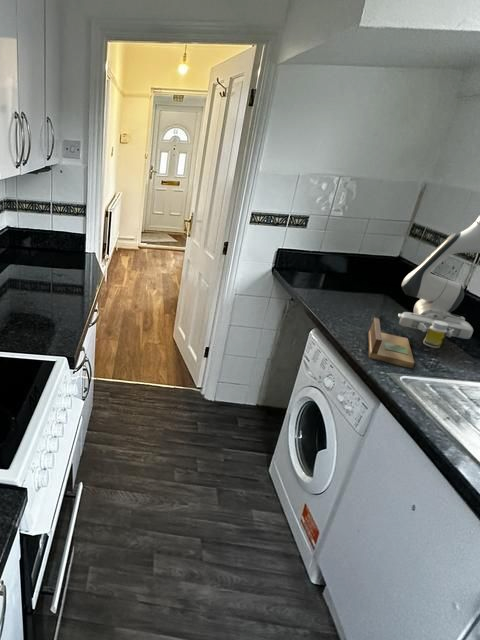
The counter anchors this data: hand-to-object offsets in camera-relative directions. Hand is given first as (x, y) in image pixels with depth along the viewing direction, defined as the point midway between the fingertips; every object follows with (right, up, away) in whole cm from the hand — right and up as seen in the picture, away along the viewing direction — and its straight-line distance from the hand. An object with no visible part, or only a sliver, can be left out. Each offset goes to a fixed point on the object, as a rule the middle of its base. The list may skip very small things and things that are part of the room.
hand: (437, 332), depth 139 cm
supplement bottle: (0, -4, +3) cm, 5 cm away
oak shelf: (-14, -6, +4) cm, 16 cm away
